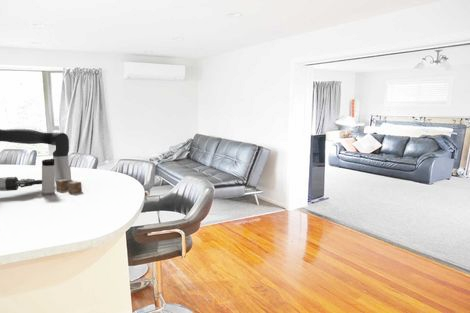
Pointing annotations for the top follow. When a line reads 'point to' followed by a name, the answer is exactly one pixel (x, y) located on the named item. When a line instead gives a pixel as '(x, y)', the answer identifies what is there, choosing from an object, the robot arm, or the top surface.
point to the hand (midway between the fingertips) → (42, 181)
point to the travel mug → (48, 177)
